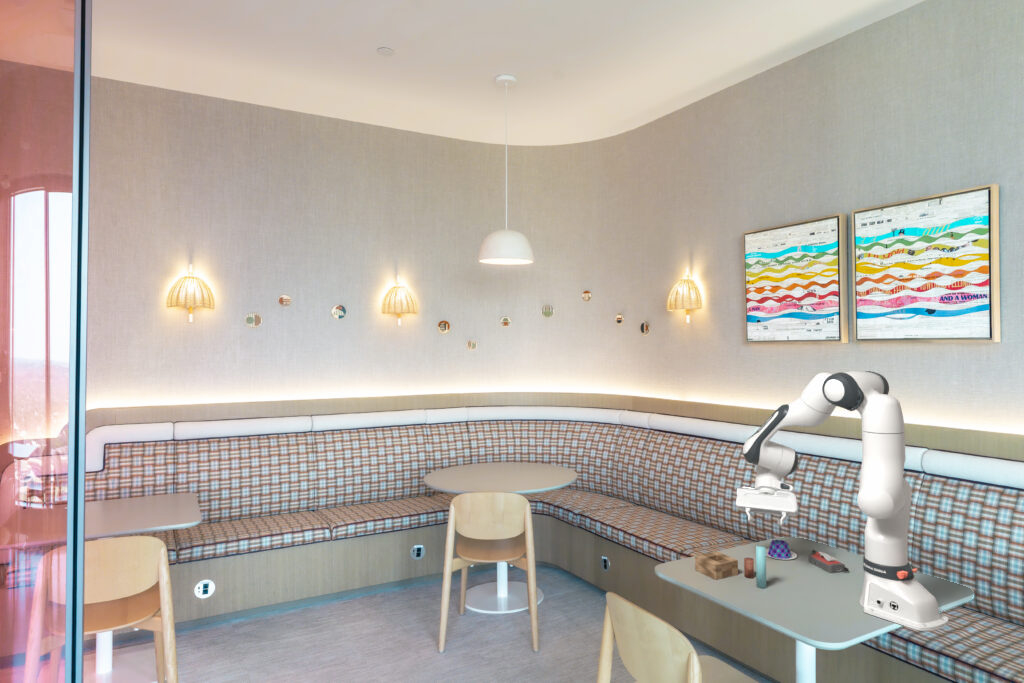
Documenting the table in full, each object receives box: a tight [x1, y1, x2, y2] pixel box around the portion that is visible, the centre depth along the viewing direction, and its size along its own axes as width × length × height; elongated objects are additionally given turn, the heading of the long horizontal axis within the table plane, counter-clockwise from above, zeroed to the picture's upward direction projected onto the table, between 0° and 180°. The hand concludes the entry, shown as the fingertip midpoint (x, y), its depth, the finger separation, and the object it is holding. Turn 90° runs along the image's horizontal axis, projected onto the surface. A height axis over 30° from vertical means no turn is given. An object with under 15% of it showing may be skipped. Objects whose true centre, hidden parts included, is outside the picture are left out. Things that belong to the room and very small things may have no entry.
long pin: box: [755, 545, 767, 590], centre depth 200 cm, size 3×3×13 cm
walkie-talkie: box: [808, 549, 850, 574], centre depth 219 cm, size 9×4×20 cm
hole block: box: [694, 551, 739, 581], centre depth 213 cm, size 10×10×5 cm
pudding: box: [766, 539, 798, 561], centre depth 228 cm, size 12×12×5 cm
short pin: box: [743, 557, 755, 579], centre depth 208 cm, size 3×3×6 cm
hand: (765, 523), depth 210 cm, fingers open, 8 cm apart
